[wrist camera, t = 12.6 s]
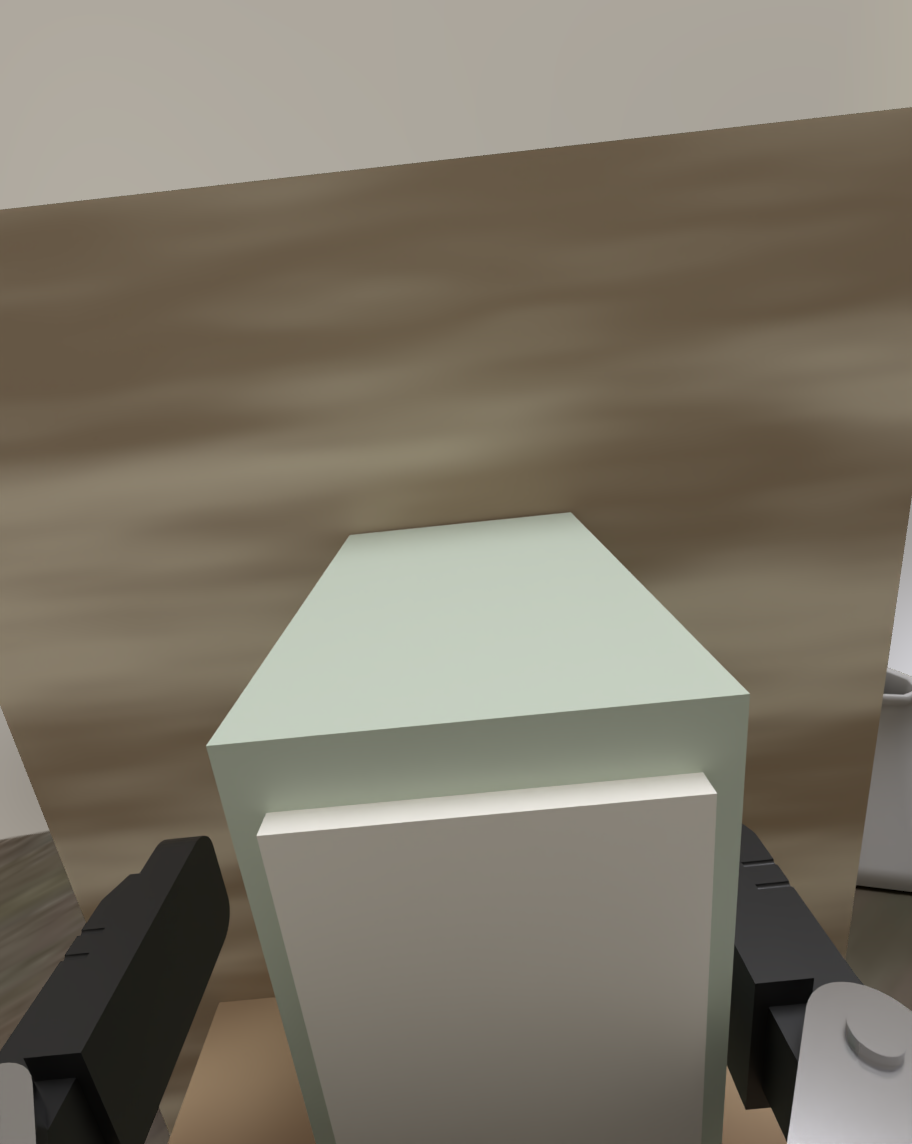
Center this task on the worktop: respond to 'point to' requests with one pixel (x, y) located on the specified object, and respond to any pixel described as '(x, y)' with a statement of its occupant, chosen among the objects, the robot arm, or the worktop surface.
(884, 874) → the flask
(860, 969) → the worktop surface
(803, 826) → the wooden display stand
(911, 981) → the worktop surface
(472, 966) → the cabinet
